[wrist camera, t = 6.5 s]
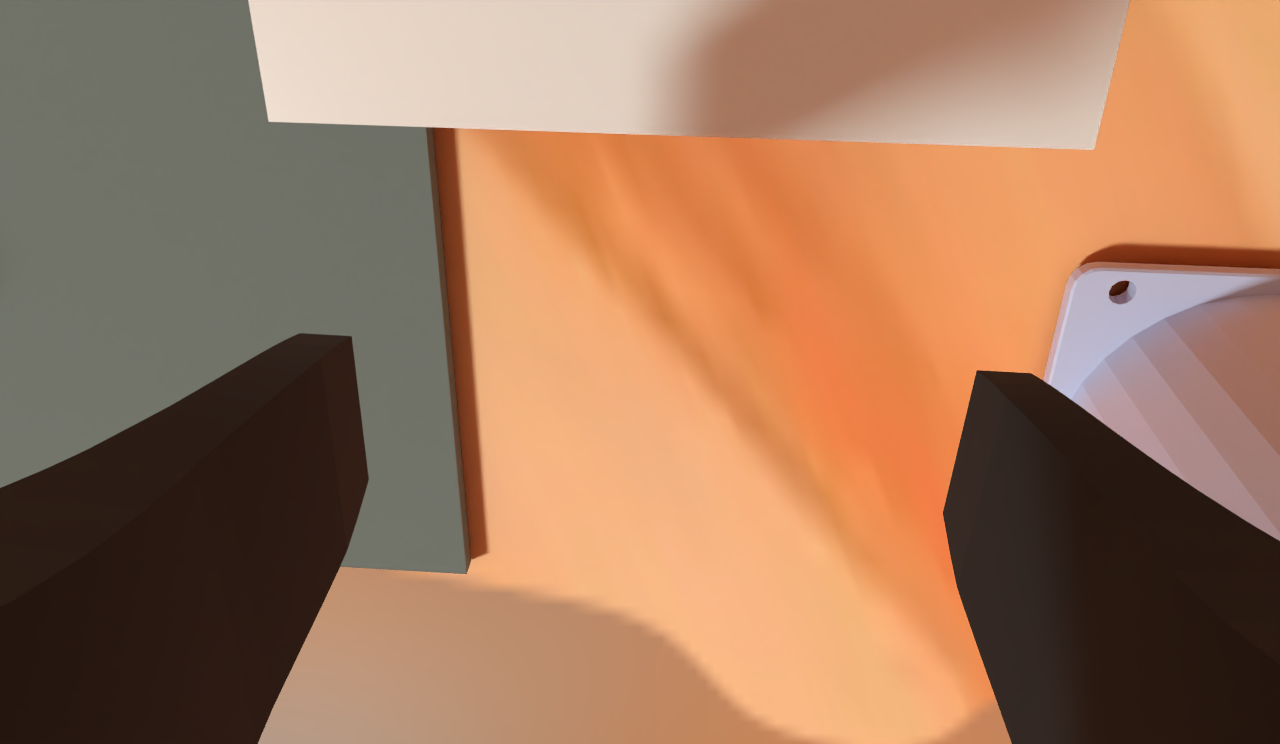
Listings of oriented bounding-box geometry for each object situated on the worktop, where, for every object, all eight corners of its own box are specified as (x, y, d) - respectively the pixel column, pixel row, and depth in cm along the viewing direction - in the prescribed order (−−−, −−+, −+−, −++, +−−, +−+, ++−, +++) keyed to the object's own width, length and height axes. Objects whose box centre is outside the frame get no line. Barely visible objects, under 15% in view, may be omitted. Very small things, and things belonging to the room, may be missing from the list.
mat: (419, -20, 19) (412, -16, 19) (470, 560, 26) (466, 573, 26) (-290, -39, 20) (-313, -35, 19) (-57, 530, 27) (-69, 543, 26)
